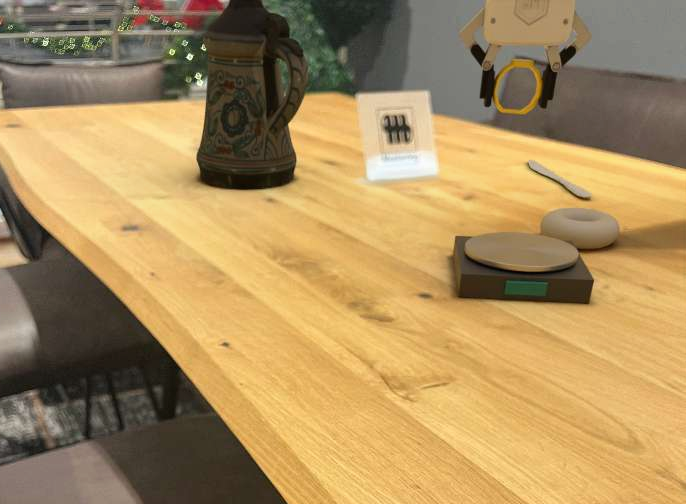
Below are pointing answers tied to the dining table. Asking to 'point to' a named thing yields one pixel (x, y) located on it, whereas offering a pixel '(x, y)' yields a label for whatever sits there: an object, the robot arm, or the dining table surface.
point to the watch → (513, 63)
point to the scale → (520, 280)
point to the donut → (581, 227)
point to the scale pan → (521, 251)
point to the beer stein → (250, 99)
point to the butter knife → (559, 179)
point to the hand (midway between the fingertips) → (514, 104)
